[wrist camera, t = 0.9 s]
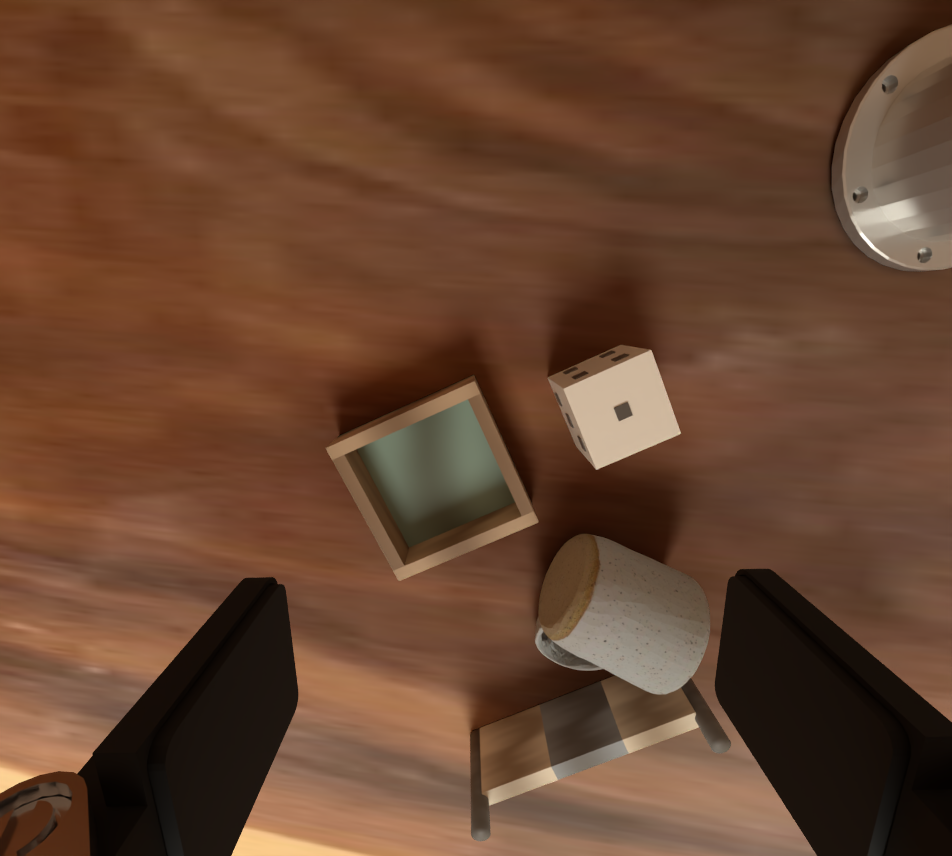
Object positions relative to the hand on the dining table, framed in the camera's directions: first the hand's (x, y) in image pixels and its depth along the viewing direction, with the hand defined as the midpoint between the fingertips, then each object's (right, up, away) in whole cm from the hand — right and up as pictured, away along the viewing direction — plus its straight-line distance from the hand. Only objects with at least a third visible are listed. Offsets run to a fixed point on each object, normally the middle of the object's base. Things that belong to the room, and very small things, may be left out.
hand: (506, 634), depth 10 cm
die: (+7, +6, +20) cm, 22 cm away
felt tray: (-3, +1, +21) cm, 21 cm away
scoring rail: (+7, -16, +25) cm, 31 cm away
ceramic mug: (+8, -7, +24) cm, 26 cm away
